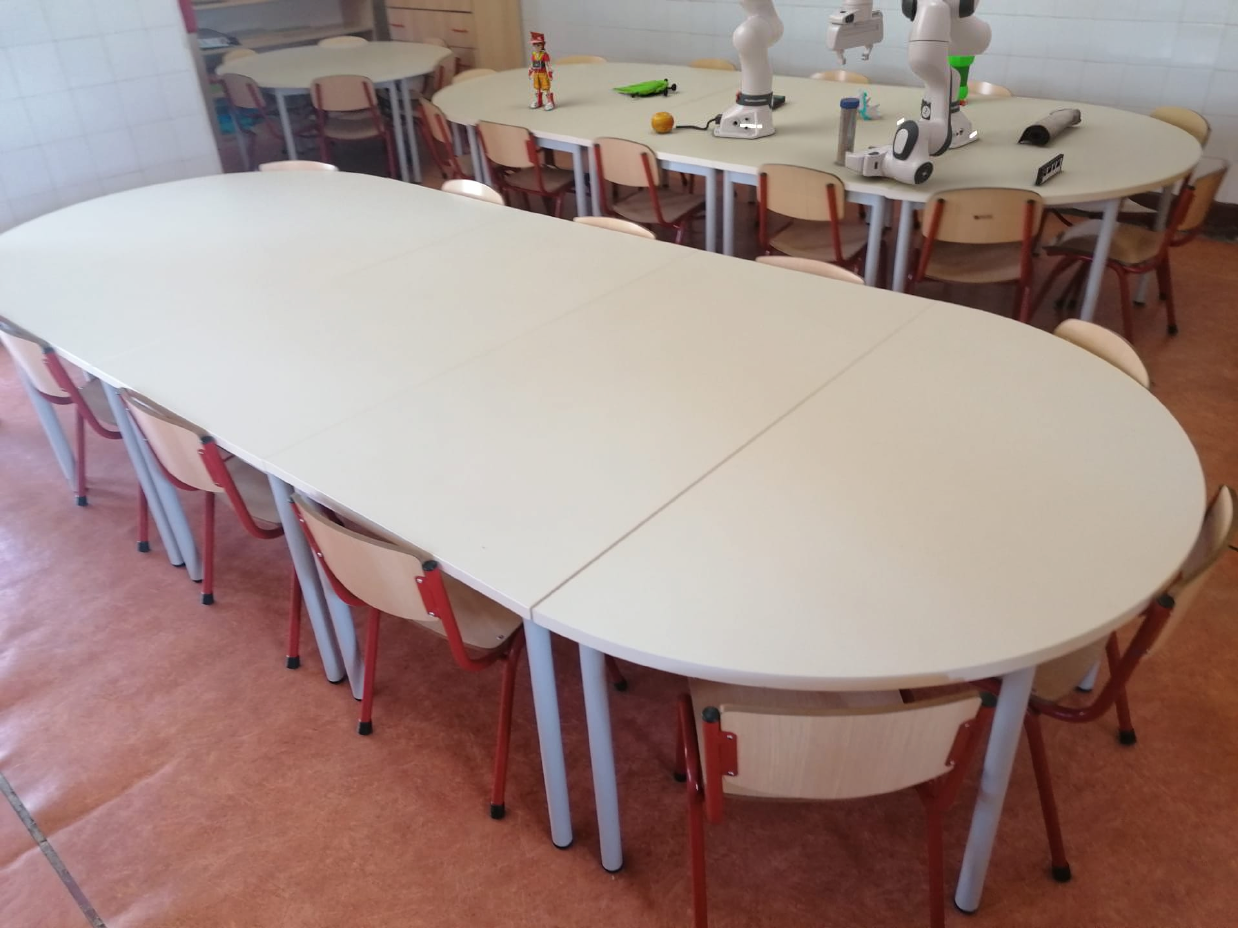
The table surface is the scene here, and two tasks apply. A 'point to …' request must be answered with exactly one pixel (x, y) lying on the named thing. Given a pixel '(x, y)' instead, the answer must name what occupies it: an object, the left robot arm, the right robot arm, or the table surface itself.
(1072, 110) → the rolled mat
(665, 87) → the toy
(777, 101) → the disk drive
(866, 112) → the anatomical model
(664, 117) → the fruit
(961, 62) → the green dumbbell
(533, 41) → the toy
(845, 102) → the lid
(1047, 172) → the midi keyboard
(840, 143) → the jar
